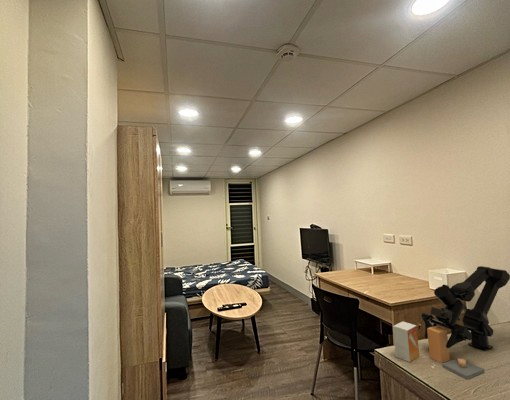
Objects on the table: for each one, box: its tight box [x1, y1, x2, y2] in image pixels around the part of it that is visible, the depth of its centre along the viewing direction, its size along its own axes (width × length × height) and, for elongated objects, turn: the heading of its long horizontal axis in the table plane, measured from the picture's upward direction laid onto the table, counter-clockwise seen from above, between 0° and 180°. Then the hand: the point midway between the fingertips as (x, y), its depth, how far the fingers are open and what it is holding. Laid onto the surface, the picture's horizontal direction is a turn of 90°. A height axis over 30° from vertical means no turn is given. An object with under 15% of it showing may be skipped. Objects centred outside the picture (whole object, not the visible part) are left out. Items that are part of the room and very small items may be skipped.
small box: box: [392, 320, 420, 363], centre depth 115 cm, size 8×6×13 cm
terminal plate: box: [441, 357, 485, 380], centre depth 103 cm, size 10×9×4 cm
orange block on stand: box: [427, 325, 451, 364], centre depth 112 cm, size 5×5×12 cm
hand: (435, 342), depth 111 cm, fingers open, 9 cm apart
